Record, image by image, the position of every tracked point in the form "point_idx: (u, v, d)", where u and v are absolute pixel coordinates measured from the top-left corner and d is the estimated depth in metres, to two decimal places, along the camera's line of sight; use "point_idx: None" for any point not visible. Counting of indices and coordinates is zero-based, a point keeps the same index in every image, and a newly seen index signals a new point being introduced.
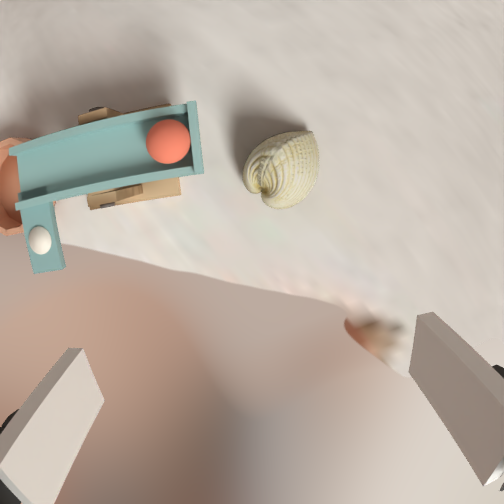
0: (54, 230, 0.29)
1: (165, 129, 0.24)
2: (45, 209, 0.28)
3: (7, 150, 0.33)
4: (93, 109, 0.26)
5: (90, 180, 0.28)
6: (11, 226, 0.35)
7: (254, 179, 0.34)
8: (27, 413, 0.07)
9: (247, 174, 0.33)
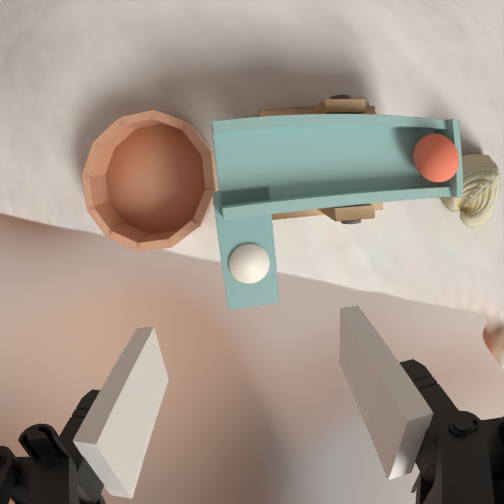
0: (274, 249, 0.24)
1: (450, 147, 0.20)
2: (264, 220, 0.23)
3: (131, 129, 0.28)
4: (343, 96, 0.21)
5: (336, 187, 0.23)
6: (140, 237, 0.30)
7: (460, 199, 0.29)
8: (114, 389, 0.08)
9: None
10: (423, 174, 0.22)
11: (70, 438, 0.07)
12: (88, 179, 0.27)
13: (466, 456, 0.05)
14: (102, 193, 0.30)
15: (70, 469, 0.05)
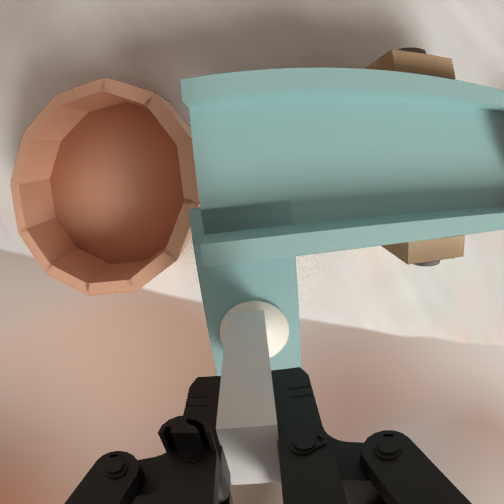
0: (298, 309, 0.14)
1: None
2: (281, 261, 0.13)
3: (80, 112, 0.18)
4: (418, 50, 0.10)
5: (408, 204, 0.13)
6: (93, 272, 0.19)
7: None
8: (237, 371, 0.09)
9: None
10: None
11: None
12: (18, 188, 0.16)
13: (311, 476, 0.05)
14: (43, 207, 0.19)
15: (216, 468, 0.06)
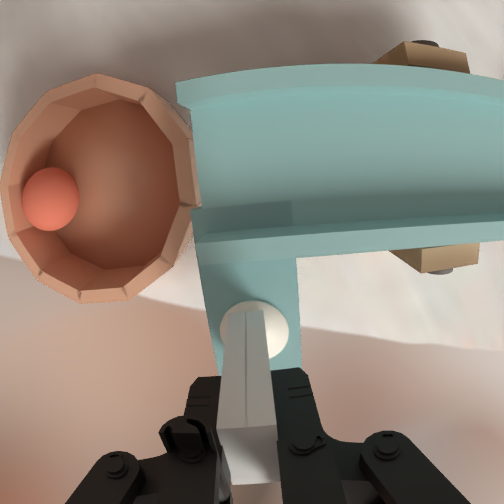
0: None
1: None
2: (282, 262, 0.13)
3: (71, 110, 0.16)
4: (430, 43, 0.09)
5: (418, 207, 0.12)
6: (86, 278, 0.18)
7: None
8: (238, 371, 0.09)
9: None
10: None
11: None
12: (7, 191, 0.15)
13: (311, 476, 0.05)
14: None
15: (217, 468, 0.06)
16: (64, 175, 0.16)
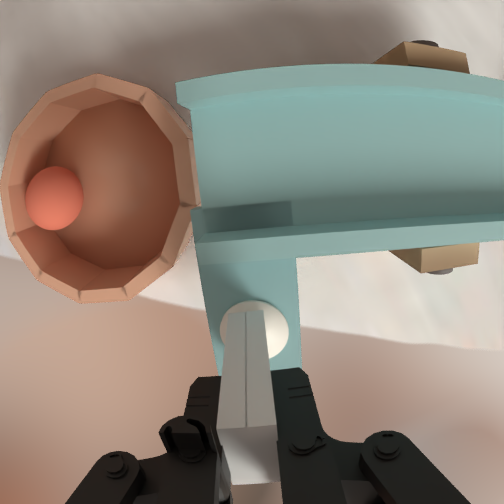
0: None
1: None
2: (282, 262, 0.13)
3: (71, 110, 0.16)
4: (430, 44, 0.09)
5: (418, 207, 0.12)
6: (86, 278, 0.18)
7: None
8: (238, 371, 0.09)
9: None
10: None
11: None
12: (7, 191, 0.15)
13: (311, 476, 0.05)
14: None
15: (217, 468, 0.06)
16: (70, 174, 0.17)
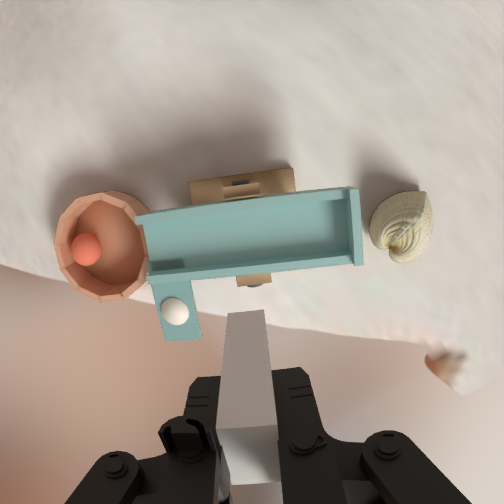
0: (192, 302, 0.32)
1: None
2: (182, 282, 0.31)
3: (88, 203, 0.35)
4: (240, 181, 0.28)
5: (236, 258, 0.30)
6: (102, 290, 0.36)
7: (386, 239, 0.35)
8: (237, 371, 0.09)
9: (382, 234, 0.35)
10: None
11: None
12: (59, 246, 0.33)
13: (312, 476, 0.05)
14: None
15: (216, 468, 0.06)
16: (95, 237, 0.35)
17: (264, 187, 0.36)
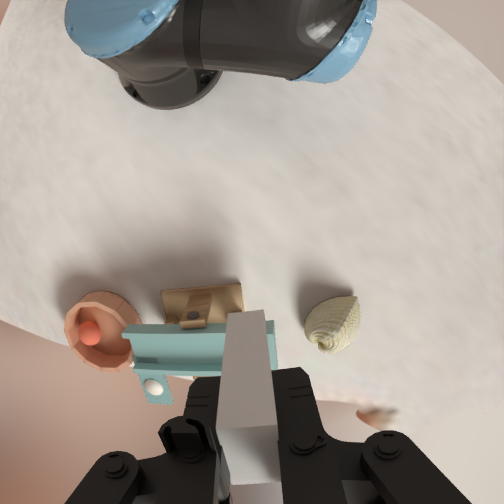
0: (165, 383, 0.43)
1: (78, 331, 0.45)
2: None
3: None
4: (192, 317, 0.39)
5: (192, 361, 0.41)
6: (102, 361, 0.47)
7: (315, 338, 0.46)
8: (237, 371, 0.09)
9: (311, 335, 0.46)
10: None
11: None
12: (68, 332, 0.44)
13: (311, 476, 0.05)
14: None
15: (216, 468, 0.06)
16: (96, 325, 0.46)
17: (218, 298, 0.47)
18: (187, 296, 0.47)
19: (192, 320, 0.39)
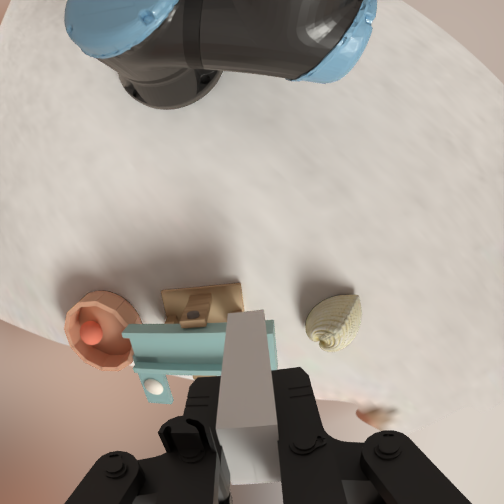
0: (165, 382, 0.43)
1: None
2: None
3: None
4: (192, 317, 0.39)
5: (192, 361, 0.41)
6: (102, 360, 0.48)
7: (316, 336, 0.46)
8: (237, 371, 0.09)
9: (312, 334, 0.46)
10: None
11: None
12: (68, 332, 0.44)
13: (312, 476, 0.05)
14: (78, 333, 0.47)
15: (216, 468, 0.06)
16: (97, 324, 0.47)
17: (218, 298, 0.47)
18: (187, 296, 0.47)
19: (192, 320, 0.39)
